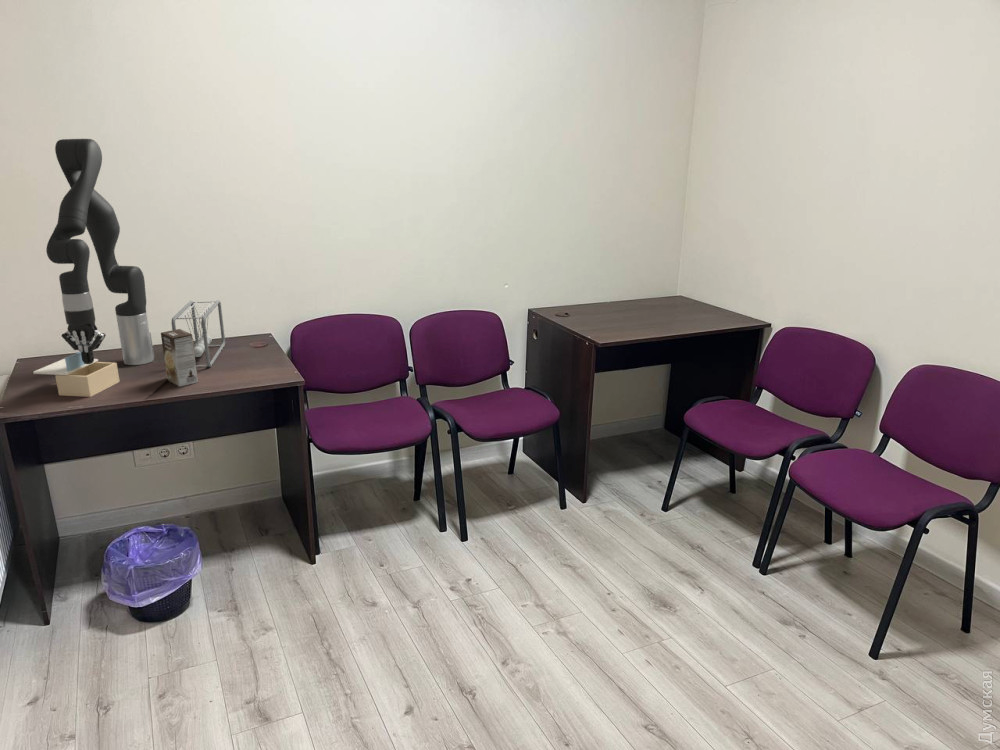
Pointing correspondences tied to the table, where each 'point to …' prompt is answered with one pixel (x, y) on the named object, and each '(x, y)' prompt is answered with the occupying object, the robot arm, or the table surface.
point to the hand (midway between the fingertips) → (88, 363)
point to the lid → (64, 365)
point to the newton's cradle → (205, 339)
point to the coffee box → (179, 357)
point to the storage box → (88, 380)
